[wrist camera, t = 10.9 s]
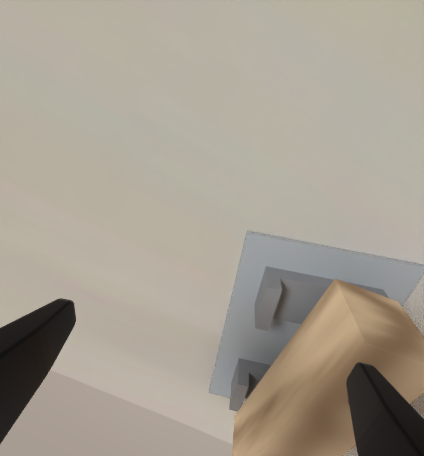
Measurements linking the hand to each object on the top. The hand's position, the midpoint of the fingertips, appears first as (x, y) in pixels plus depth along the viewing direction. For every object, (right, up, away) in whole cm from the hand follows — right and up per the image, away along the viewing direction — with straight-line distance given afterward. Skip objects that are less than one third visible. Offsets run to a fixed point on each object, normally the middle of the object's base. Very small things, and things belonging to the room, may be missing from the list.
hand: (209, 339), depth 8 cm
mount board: (+8, -7, +16) cm, 19 cm away
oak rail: (+7, -8, +13) cm, 17 cm away
